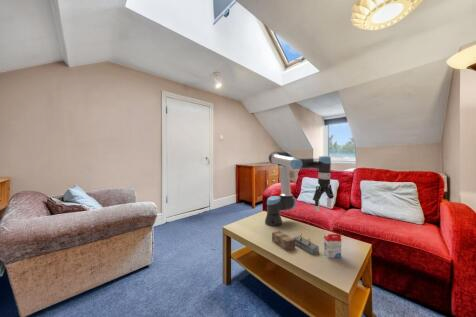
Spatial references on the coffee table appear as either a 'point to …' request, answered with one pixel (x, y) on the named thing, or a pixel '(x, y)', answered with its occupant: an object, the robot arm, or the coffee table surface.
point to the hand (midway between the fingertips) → (323, 208)
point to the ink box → (332, 245)
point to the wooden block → (283, 240)
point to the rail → (306, 244)
